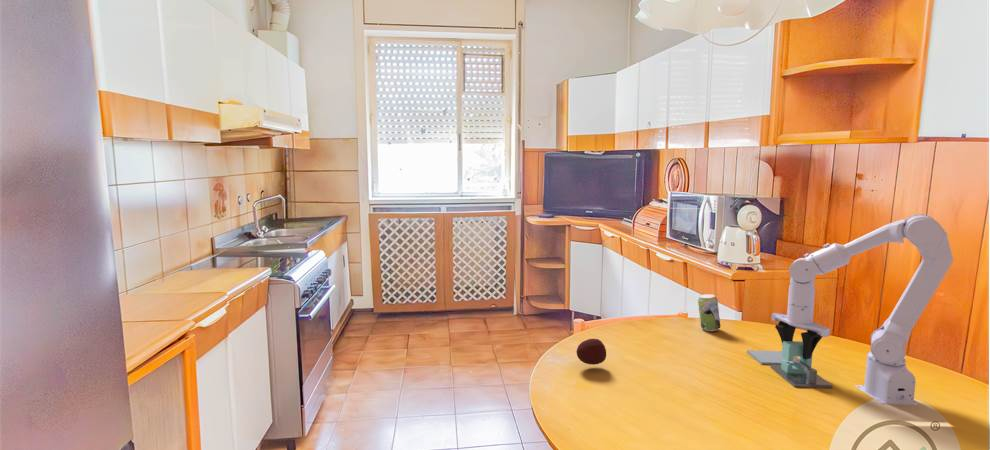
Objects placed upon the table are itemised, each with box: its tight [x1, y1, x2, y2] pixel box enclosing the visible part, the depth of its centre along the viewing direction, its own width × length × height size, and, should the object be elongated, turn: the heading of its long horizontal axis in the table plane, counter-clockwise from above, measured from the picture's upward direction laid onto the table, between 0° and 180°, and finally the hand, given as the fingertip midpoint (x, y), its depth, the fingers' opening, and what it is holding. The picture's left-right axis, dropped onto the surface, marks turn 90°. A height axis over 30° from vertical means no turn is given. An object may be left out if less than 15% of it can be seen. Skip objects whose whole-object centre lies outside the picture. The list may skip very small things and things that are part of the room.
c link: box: [781, 340, 813, 374], centre depth 127 cm, size 3×6×8 cm, turn 88°
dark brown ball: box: [576, 338, 607, 365], centre depth 134 cm, size 7×8×7 cm
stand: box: [770, 356, 833, 389], centre depth 125 cm, size 12×9×4 cm
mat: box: [746, 349, 799, 366], centre depth 138 cm, size 9×12×1 cm
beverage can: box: [697, 293, 721, 332], centre depth 162 cm, size 6×7×12 cm
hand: (796, 354), depth 127 cm, fingers closed on c link, 5 cm apart
